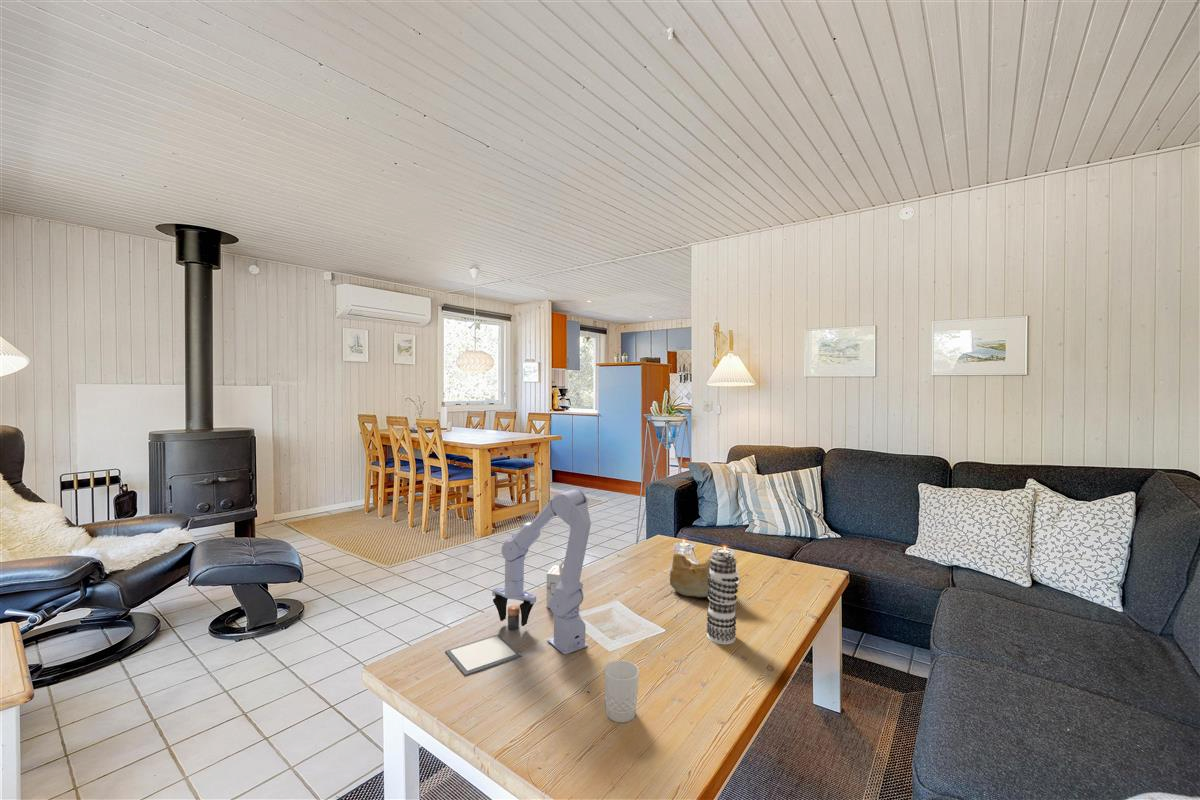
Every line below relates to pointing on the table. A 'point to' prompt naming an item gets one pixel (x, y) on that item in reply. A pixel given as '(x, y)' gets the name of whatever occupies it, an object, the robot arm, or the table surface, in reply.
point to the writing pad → (482, 654)
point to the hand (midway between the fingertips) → (513, 622)
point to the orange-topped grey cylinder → (513, 617)
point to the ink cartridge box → (553, 580)
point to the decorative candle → (722, 598)
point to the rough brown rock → (689, 577)
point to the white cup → (621, 690)
